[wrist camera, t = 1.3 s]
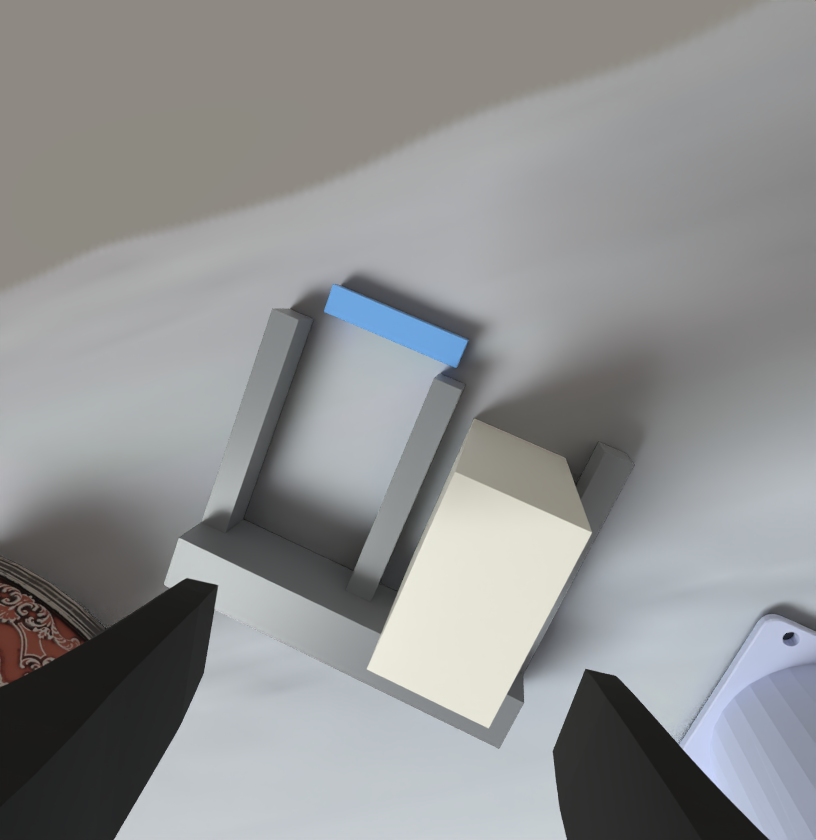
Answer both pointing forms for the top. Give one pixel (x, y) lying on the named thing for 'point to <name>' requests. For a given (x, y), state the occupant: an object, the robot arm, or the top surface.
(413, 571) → the cream rectangular block
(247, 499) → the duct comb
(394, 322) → the blue rectangular bar
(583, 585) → the top surface
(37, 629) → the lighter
